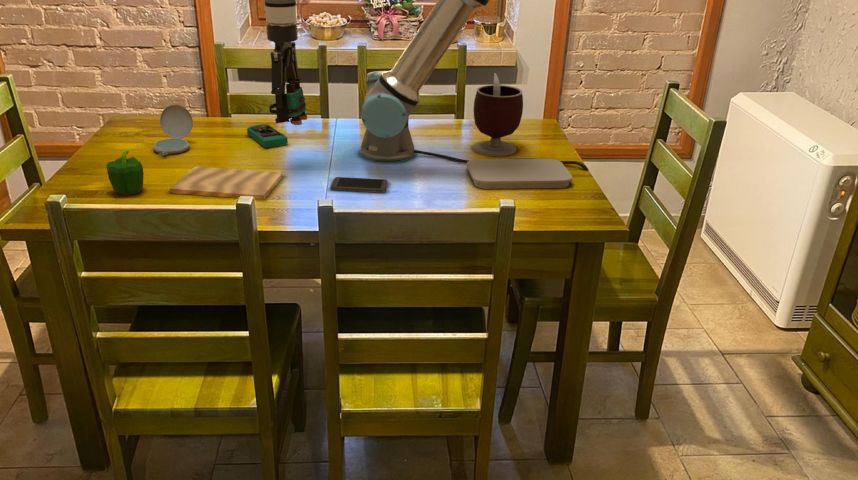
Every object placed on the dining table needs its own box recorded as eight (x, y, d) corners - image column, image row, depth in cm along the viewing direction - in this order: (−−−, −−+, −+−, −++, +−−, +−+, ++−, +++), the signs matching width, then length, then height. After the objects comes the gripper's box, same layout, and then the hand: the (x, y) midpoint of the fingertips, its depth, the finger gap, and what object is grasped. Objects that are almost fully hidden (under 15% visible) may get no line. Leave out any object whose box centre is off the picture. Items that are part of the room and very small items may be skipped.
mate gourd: (523, 156, 209) (530, 86, 199) (474, 157, 208) (479, 86, 199) (512, 139, 223) (518, 73, 213) (467, 139, 222) (471, 72, 212)
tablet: (464, 167, 201) (465, 159, 200) (557, 166, 203) (558, 158, 202) (474, 189, 187) (474, 181, 186) (574, 188, 189) (575, 180, 188)
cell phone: (335, 179, 191) (334, 176, 190) (388, 182, 190) (388, 179, 189) (329, 189, 184) (329, 187, 184) (384, 192, 183) (384, 189, 183)
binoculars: (271, 78, 192) (307, 76, 190) (278, 118, 197) (313, 117, 195) (258, 86, 184) (296, 85, 182) (266, 128, 189) (302, 126, 187)
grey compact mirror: (193, 104, 211) (175, 119, 197) (197, 141, 216) (180, 158, 203) (159, 103, 211) (138, 118, 198) (164, 140, 216) (145, 157, 203)
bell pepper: (131, 200, 177) (124, 160, 172) (104, 194, 179) (96, 155, 175) (154, 188, 184) (148, 150, 179) (128, 183, 186) (121, 145, 181)
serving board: (282, 176, 192) (282, 172, 192) (264, 200, 178) (263, 195, 178) (195, 170, 195) (194, 166, 194) (170, 193, 181) (169, 188, 181)
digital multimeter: (269, 131, 225) (268, 122, 224) (288, 145, 214) (288, 135, 213) (246, 135, 222) (245, 125, 221) (265, 149, 211) (264, 139, 210)
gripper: (279, 15, 190) (285, 102, 201) (252, 31, 171) (260, 125, 182) (307, 16, 189) (312, 103, 200) (283, 32, 170) (290, 127, 181)
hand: (287, 113), depth 191 cm, fingers closed on binoculars, 9 cm apart
